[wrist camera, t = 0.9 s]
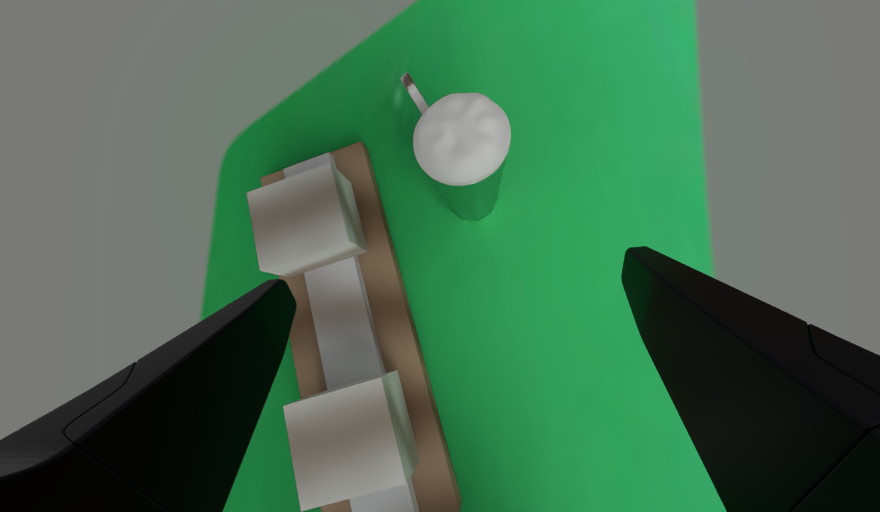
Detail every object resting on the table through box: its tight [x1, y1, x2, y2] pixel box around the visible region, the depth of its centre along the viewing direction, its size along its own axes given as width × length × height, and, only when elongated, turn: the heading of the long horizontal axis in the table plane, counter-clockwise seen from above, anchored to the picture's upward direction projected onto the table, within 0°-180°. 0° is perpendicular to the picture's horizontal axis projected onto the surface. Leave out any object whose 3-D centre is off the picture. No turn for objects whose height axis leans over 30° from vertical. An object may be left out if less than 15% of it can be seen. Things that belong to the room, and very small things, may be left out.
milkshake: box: [400, 72, 511, 221], centre depth 19 cm, size 4×5×10 cm
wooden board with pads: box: [247, 141, 462, 512], centre depth 21 cm, size 24×8×5 cm, turn 17°
